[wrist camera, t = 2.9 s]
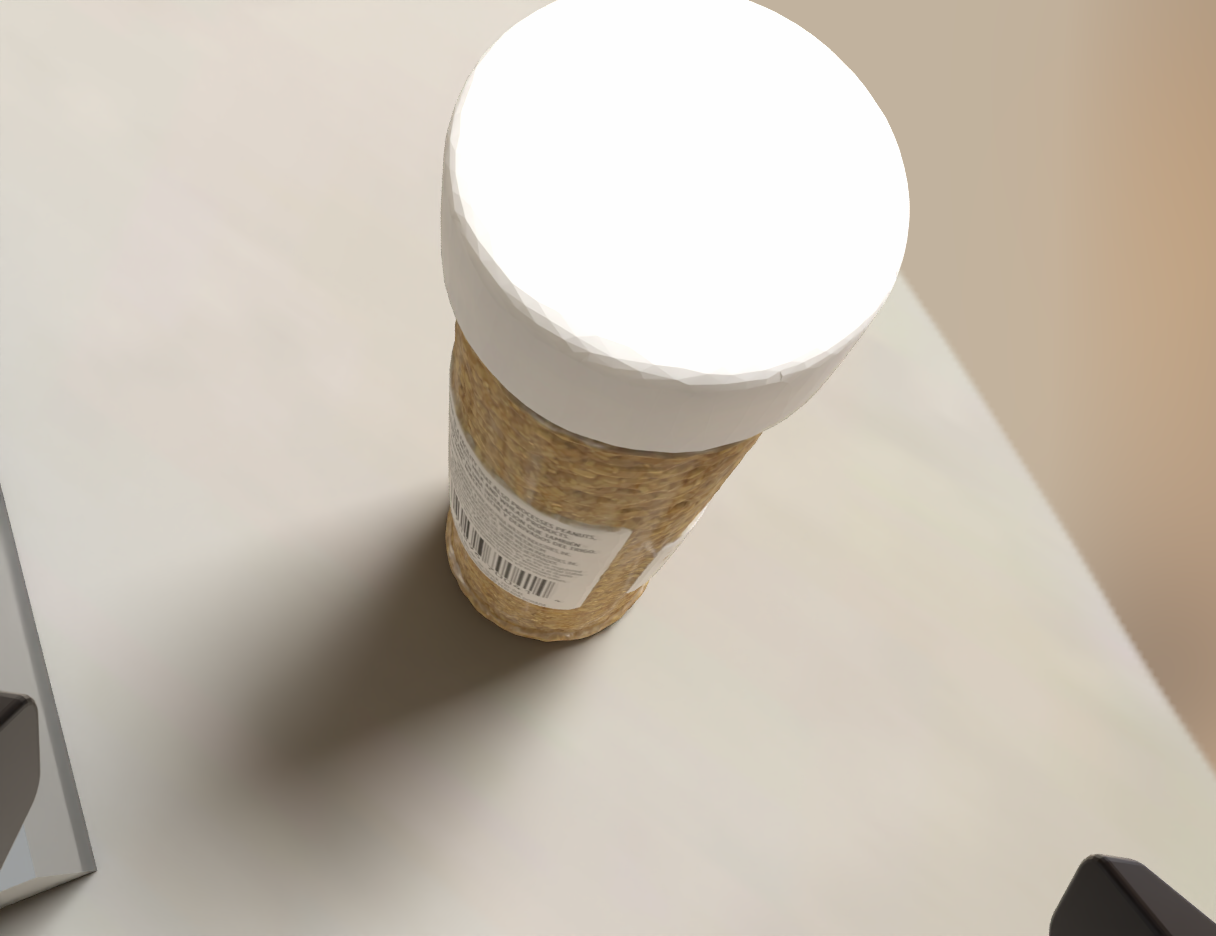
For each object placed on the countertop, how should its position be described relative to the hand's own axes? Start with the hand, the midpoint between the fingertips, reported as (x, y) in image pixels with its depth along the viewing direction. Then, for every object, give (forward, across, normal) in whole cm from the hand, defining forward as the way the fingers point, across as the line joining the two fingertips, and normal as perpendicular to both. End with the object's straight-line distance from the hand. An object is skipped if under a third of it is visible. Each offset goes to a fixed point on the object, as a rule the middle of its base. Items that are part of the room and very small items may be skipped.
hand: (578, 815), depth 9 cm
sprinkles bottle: (+13, 0, +5) cm, 14 cm away
